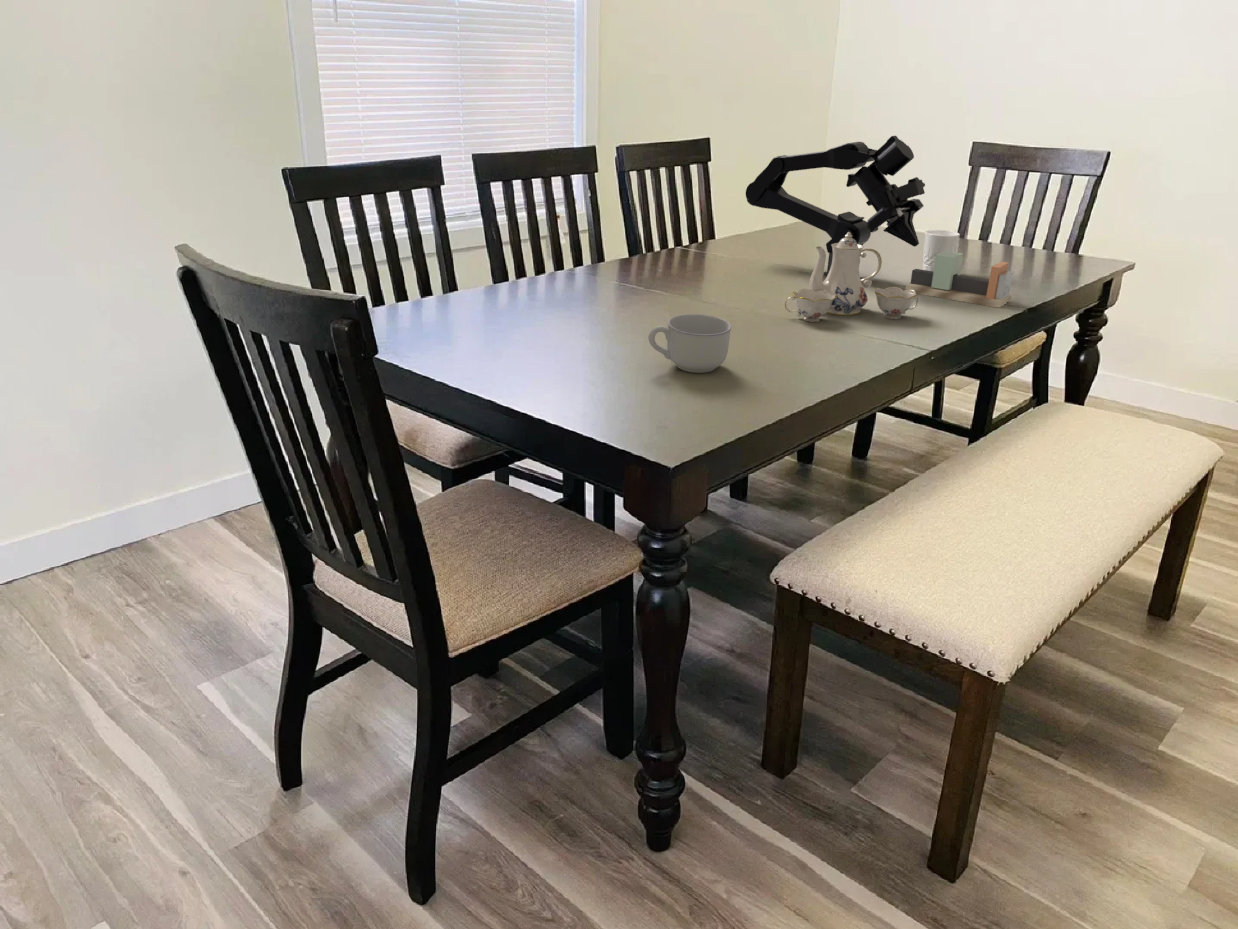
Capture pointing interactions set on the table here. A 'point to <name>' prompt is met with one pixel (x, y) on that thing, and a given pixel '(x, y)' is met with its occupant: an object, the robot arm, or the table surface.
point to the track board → (957, 295)
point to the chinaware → (847, 286)
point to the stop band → (995, 278)
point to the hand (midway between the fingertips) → (916, 245)
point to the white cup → (938, 246)
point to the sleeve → (946, 269)
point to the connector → (1004, 285)
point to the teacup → (694, 341)
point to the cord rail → (957, 284)
